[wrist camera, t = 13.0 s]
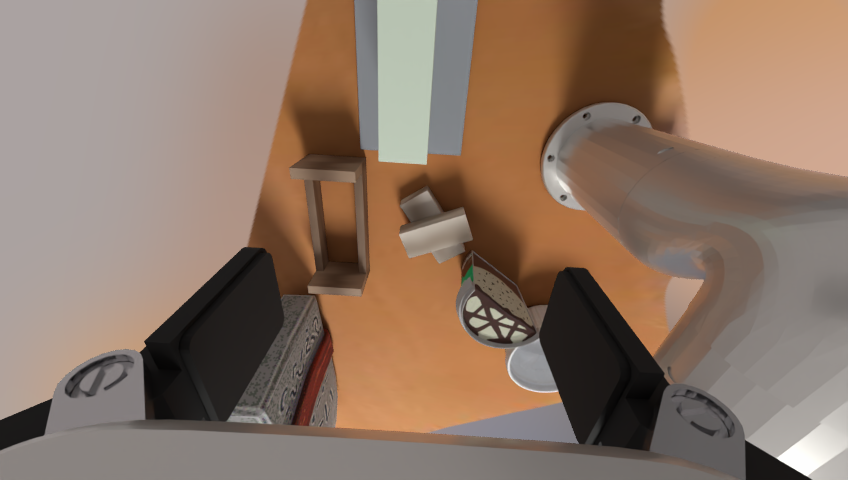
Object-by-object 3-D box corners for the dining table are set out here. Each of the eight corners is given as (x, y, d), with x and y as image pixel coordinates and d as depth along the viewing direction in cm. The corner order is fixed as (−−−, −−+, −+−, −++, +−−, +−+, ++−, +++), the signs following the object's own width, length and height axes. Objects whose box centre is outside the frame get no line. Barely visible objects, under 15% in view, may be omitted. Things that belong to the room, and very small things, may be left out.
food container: (435, 271, 47) (435, 318, 38) (463, 243, 44) (471, 287, 35) (494, 313, 50) (506, 365, 41) (523, 289, 48) (543, 340, 39)
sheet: (437, 10, 31) (438, -18, 21) (428, 136, 37) (426, 164, 26) (396, 7, 31) (376, -23, 21) (394, 134, 37) (378, 161, 26)
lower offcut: (427, 183, 41) (427, 190, 39) (463, 242, 45) (464, 251, 43) (401, 198, 42) (399, 205, 40) (439, 254, 46) (439, 263, 44)
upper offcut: (400, 225, 41) (399, 234, 39) (463, 206, 40) (465, 214, 37) (410, 248, 42) (409, 258, 40) (470, 231, 41) (473, 240, 39)
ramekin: (598, 313, 50) (621, 347, 44) (551, 365, 56) (566, 402, 50) (524, 286, 48) (537, 318, 41) (484, 344, 54) (490, 379, 48)
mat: (478, -12, 30) (479, -13, 30) (460, 154, 38) (460, 155, 38) (354, -20, 30) (353, -21, 30) (361, 148, 38) (360, 149, 38)
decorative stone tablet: (199, 414, 31) (275, 516, 48) (263, 417, 31) (317, 518, 48) (279, 283, 48) (316, 394, 64) (322, 285, 47) (347, 395, 64)
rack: (365, 157, 39) (355, 171, 33) (369, 270, 47) (361, 296, 42) (309, 154, 39) (289, 167, 33) (322, 267, 47) (308, 293, 42)
